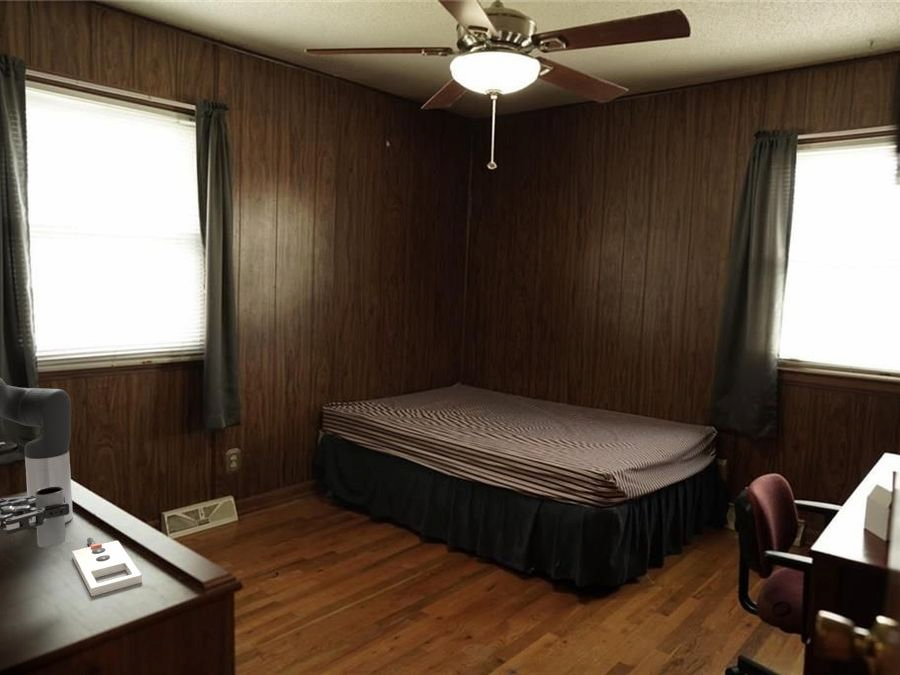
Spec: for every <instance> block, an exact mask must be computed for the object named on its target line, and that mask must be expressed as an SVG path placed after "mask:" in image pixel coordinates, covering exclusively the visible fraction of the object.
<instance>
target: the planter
mask: <svg viewBox="0 0 900 675" xmlns="http://www.w3.org/2000/svg"><path fill="white" fill-rule="evenodd" d="M35 501H36V507H46V506H50V505H55V504H61V503H64V494H63V488H61V487H47V488H43V489H40V490H38V491H36V492H35ZM43 523H44V524H43V525H40V526H37V528H36V538H37V539H36V540H37V541H36V542H37V546H38V547H39V548H53V547H57V546H60V545H62V544H63V543H65V541H66V523H65V517H64V516H59V517H54V518H48V519H47V518H46V521H43Z"/></svg>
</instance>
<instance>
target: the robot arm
mask: <svg viewBox="0 0 900 675" xmlns="http://www.w3.org/2000/svg"><path fill="white" fill-rule="evenodd" d="M0 418H3V419H6V420H9V421H12V422H14V423H17V424H19V425H22V426H26V427H38V428H39V427H42V431H41V432H42V433H41V437H39V438H37V439H33V440H31V441H28V442H27V443H26V444H25V446H24V461H25V475H26V476H25V477H26V493H27V495H23V496H11V497H2V498H0V530H5V534H6V535H11V534H14V533H19V532H22V531H25V530H29V529H32V528H36V529H37V526H40V525H43V524H44V523H43V521H46V518H47V519H48V518H54V517H59V516H64V517H65V524H66V523H68V522H70V521H71V520H72V519H73V516H74V514H73V496H72V480H71V479H72V478H71V477H72V476H71V462H70V460H71V459H70V442H71V438H72V403H71V398H70V396H69V394H68V393H67V391H65V390H64V389H59V388H41V387H38V388H37V387H36V388H35V387H32V388H30V387H29V388H27V387H19V386H18V387H17V386H11V385H8V384H7V383H6V382H5V381H4V379H2V378H1V377H0ZM47 487H61V488H63V494H64V503H61V504H55V505H50V506H46V507H36V501H35V492H36V491H38V490H40V489H43V488H47Z"/></svg>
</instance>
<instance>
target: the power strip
mask: <svg viewBox="0 0 900 675" xmlns="http://www.w3.org/2000/svg"><path fill="white" fill-rule="evenodd" d="M86 542H87V544H88V545H89V546H88V547H84V548H80V549H79V548H78V549H76V550H72V551H71V553H72V554H71V556H72V560H73V562H74V564H75V566H76V568H77V570H78V572H79V574H80V576H81V577H82V580H83V582H84V584H85V586H86V588H87V589H88V590H87V591H88V592H89V593H90V595H91V597H95V596H99V595H102V594H105V593H109V592H112V591H115V590H119V589H123V588H126V587H131V586H134V585H138V584H141V583H143V578H142V576H143V574H142V573H141V572H140V570H139V569H138V568H137V566H136V565H135V563H134V562H133V560H132V559H131V558H130V556H129V554H128V553H127V552H126V550H125V549H124V547H123V546H122V544H121V543H120V541H119V540H113V541H109V542H105V543H101V542H98V543H97V542H95V541H94V539H93V537H88V538H87V539H86ZM122 571H126V573H127V574H128V575H125V576H121V577H116V578H114V579H109V580H106V581H102V582H97V580H96V578H100V577H103V576H108V575H112V574H115V573H119V572H122Z"/></svg>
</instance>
